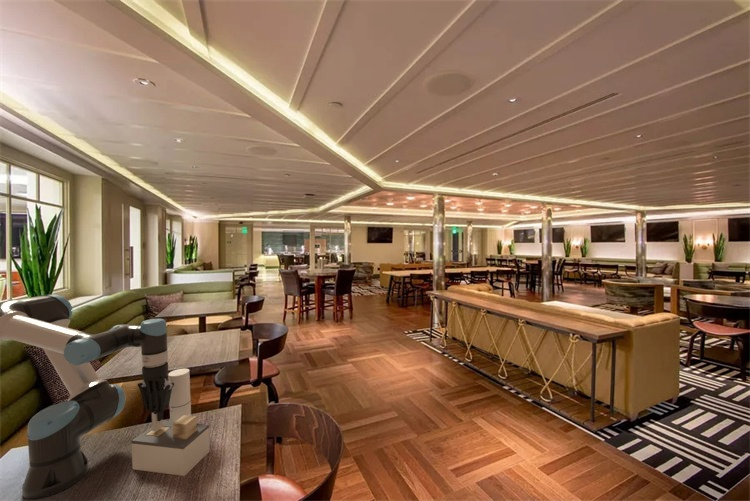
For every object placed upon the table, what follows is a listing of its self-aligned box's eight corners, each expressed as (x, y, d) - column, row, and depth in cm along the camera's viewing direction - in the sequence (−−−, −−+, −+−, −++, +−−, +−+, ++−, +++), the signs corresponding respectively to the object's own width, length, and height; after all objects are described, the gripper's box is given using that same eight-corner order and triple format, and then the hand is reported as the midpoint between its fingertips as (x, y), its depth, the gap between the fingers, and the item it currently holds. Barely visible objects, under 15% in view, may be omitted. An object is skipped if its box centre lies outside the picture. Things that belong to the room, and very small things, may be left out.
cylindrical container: (181, 439, 121) (179, 376, 120) (166, 437, 123) (163, 375, 122) (195, 428, 128) (193, 369, 127) (181, 427, 130) (178, 367, 129)
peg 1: (146, 457, 109) (145, 434, 109) (158, 447, 114) (158, 426, 113) (159, 458, 108) (158, 436, 108) (170, 448, 113) (169, 427, 113)
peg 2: (173, 446, 107) (172, 423, 106) (184, 437, 112) (183, 415, 111) (186, 447, 106) (185, 424, 106) (197, 438, 111) (196, 416, 111)
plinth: (132, 469, 106) (131, 440, 105) (162, 446, 118) (161, 420, 117) (184, 476, 102) (183, 446, 102) (209, 451, 114) (208, 424, 114)
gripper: (129, 366, 107) (132, 433, 108) (162, 369, 105) (164, 437, 106) (148, 358, 115) (151, 421, 115) (179, 360, 112) (181, 424, 113)
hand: (157, 428), depth 111 cm, fingers closed
